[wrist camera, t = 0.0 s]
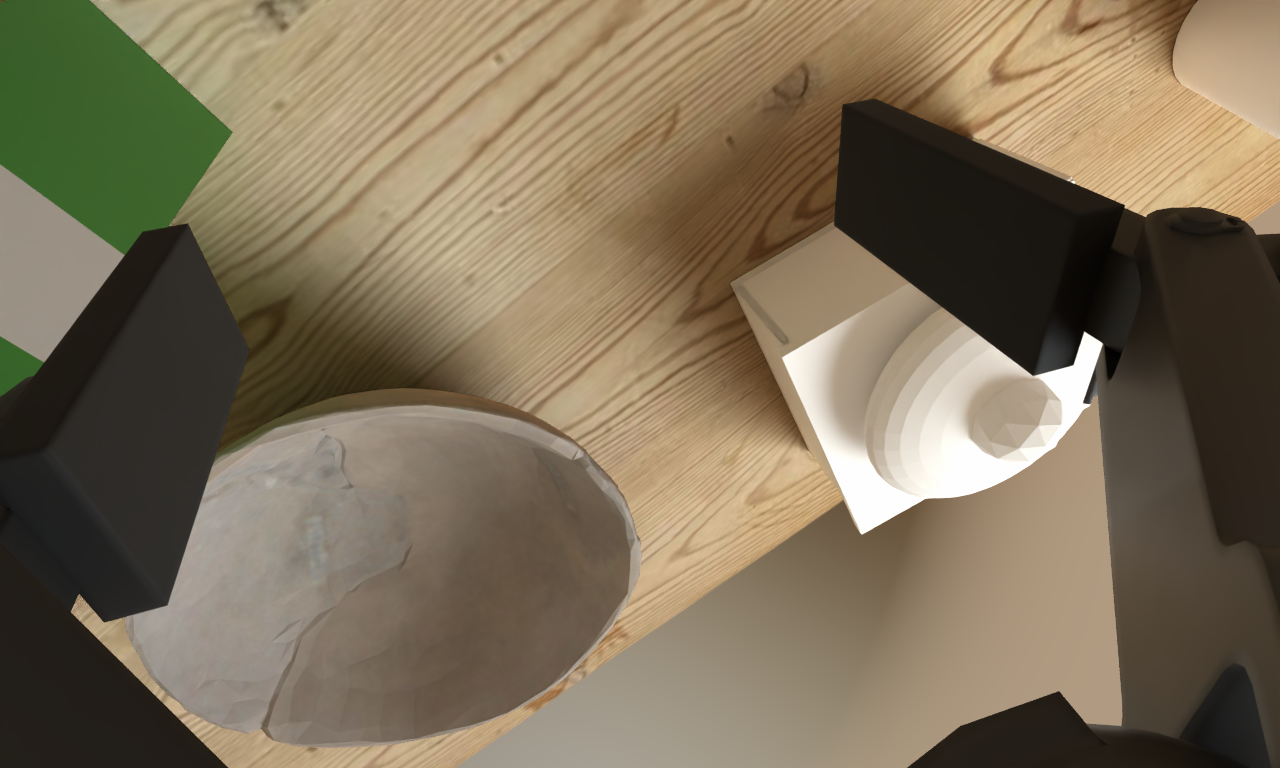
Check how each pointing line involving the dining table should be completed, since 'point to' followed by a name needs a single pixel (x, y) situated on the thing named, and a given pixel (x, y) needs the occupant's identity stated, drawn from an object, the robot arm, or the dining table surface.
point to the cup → (1233, 58)
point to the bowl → (390, 571)
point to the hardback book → (82, 165)
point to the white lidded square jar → (899, 378)
